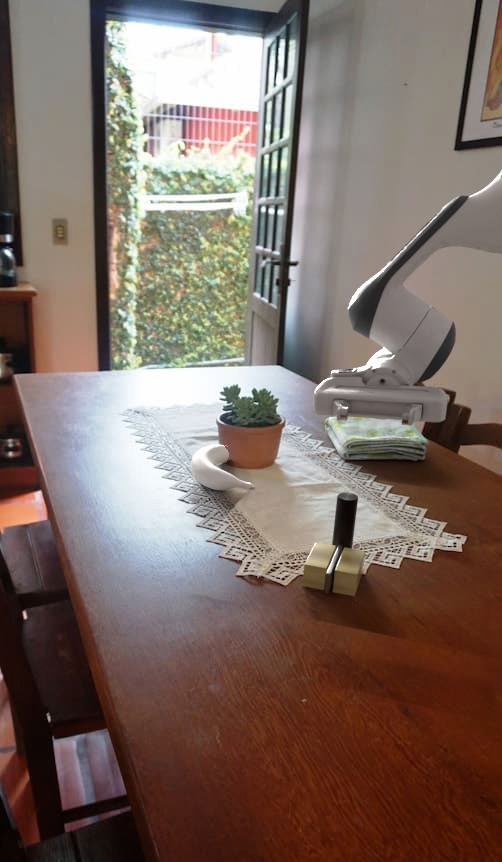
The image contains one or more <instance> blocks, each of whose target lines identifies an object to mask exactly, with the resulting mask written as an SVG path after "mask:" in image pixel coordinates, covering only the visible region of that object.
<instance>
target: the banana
mask: <svg viewBox="0 0 502 862" xmlns="http://www.w3.org/2000/svg"><path fill="white" fill-rule="evenodd" d="M225 446H226V445H225ZM225 446H224V445H223V444H211V445H207V446H204V447H202V448H200V449H198V450H197V451H196V452H195V453H194V454H193V455H192V457H191V461H190V469H189V470H190V473H191V475H192V477H193V478H194V479H195V480H196V482H198V483H199V484H201V485H203V486H204V487H206V488H208V489H212V490H215V491H229V490H231V489H232V490H233V489H235V488H239V489H243V490H246V491H249V490H250V489H251V488H252V489H254V488H255V485H253V483H252V482H249V481H248V482H247V481H245V480H241V479H239V478H238V477H236V476H234V474H231V473H230V472H227V471H225V470H224V469H221V468H219V467H217V466H218V465H220V464H225V463H227V460H228V458H229V452H228V450H227V449H226V448H225Z"/></svg>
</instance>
